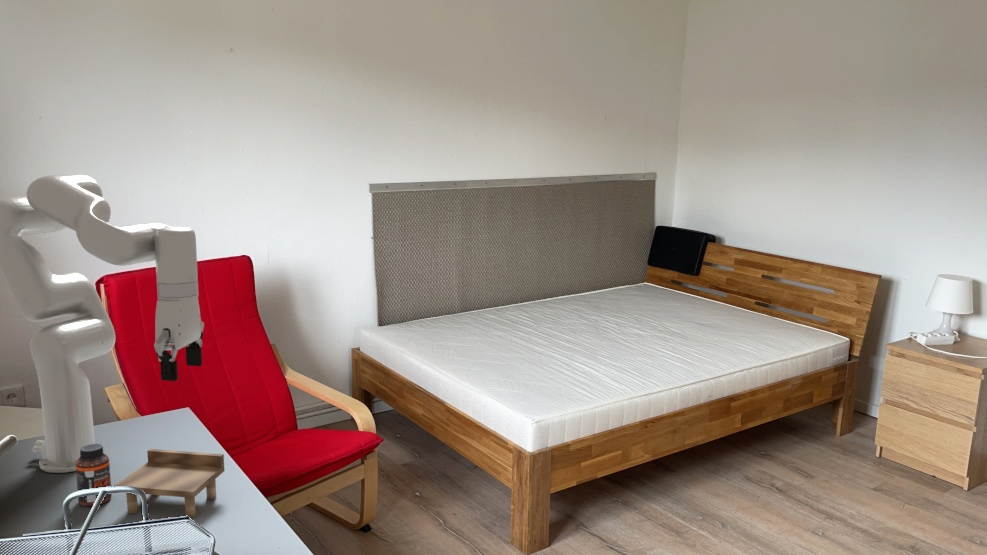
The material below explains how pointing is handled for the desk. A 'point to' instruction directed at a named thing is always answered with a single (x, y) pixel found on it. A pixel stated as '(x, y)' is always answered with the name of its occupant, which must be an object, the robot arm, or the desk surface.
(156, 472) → the peg shelf
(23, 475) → the desk surface
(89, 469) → the supplement bottle
